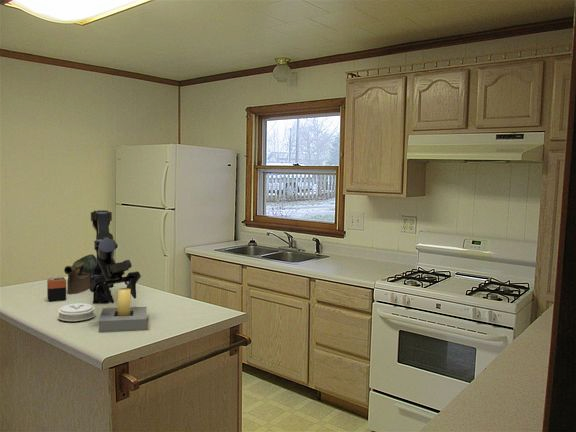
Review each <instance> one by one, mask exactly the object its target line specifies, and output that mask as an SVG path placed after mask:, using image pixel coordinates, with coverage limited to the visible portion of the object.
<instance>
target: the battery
mask: <svg viewBox="0 0 576 432" xmlns="http://www.w3.org/2000/svg"><path fill="white" fill-rule="evenodd" d="M46 283H47V285H46V287H47V291H46V292H47V298H46V299H47V301H48V303H52V302H61V301H66V300H67V279H66V278H65V276H63V275H62V276H61V275H60V276H57V277H56V278H55V277H50V278H48V279H47V281H46Z"/></svg>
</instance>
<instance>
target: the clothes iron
mask: <svg viewBox="0 0 576 432" xmlns="http://www.w3.org/2000/svg"><path fill="white" fill-rule="evenodd" d="M84 265H85V264H84V263H83V262H81V263H79V264H76V265H74V266H72V265H66V266H65V267H64V269H63V270H64V271H63V272H64V273H65V274H66V275H67V279H66V287H67V288H66V293H67V294H68V295H73V294H74V295H76V294H80V293H83V292H85V291H88V290H90V289H89V285H90V284H91V283H90V274H89V273H85V272H84ZM77 269H80V271H79V272H76V270H77Z"/></svg>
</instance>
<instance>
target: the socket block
mask: <svg viewBox="0 0 576 432" xmlns="http://www.w3.org/2000/svg"><path fill="white" fill-rule="evenodd" d="M147 310H148V309H147V306H132V307H131V306H130V316H118V307H105V308H104V307H103V308H102V310H101V312H100V316H99V319H98V333H108V332H109V333H112V332H130V331H147Z"/></svg>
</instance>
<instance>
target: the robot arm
mask: <svg viewBox="0 0 576 432" xmlns="http://www.w3.org/2000/svg"><path fill="white" fill-rule="evenodd" d="M112 214H113V212H111V211H109V210H101V209H99V210H93V211H91V212H90V222H92V223H91V224H92V228H93V229H94V231H95V233H96V234H95V235H96V236H95V240H94V241H93V247H94V248H93V249H94V251H95V252H96V260H97V265H96V267H95V268H94V270H93V275H91V283H90V285H89V289H88V290H89V291H90V293H92V294H93V295H92V296H93V297H92V299H93V301H92V304H109V303H111V304H113V303H114V302H115V300H114V296H113V295H112V290H111V289H112V288H114V286H115V284H121V283H124V284H125V285H126V287H125V288H129V289H131V291H130V296H132V298H133V299H137V282H138V281H139V280H140V279H141V277H142V276H141V273H140V272H139V271H130V272H128V274H127V275H126V276H124V275H125V274H126V271H129V269H131V268H132V267H133V265H132V262H131V261H130V259H125V260H123V261H121V262H116V261H115V258H114V257H115V252H116V251H115V250H117V248H118V243H117V242H116V240H115V239H114V236H113V234H112V233H111V232H110V224H111V222H113V221H112V220H113V215H112Z"/></svg>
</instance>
